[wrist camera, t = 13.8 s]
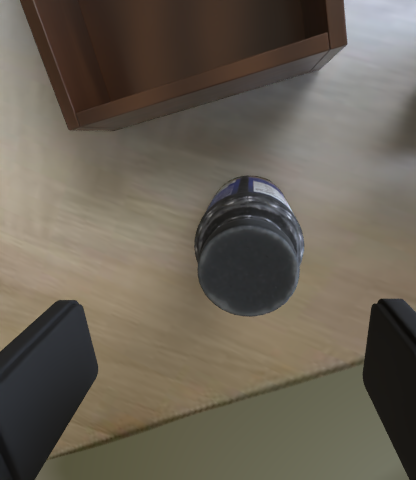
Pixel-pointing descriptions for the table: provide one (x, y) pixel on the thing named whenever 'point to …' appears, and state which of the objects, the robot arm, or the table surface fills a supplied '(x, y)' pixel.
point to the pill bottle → (249, 248)
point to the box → (174, 52)
